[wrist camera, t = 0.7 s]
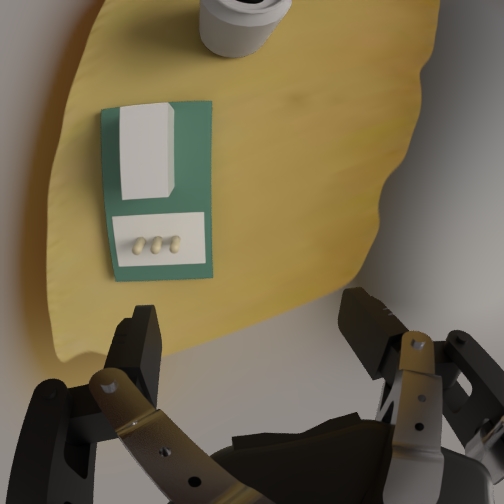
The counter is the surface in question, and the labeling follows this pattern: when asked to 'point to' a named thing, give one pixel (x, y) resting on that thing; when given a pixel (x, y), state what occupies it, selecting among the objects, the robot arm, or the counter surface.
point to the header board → (162, 204)
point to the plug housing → (147, 151)
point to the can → (239, 24)
